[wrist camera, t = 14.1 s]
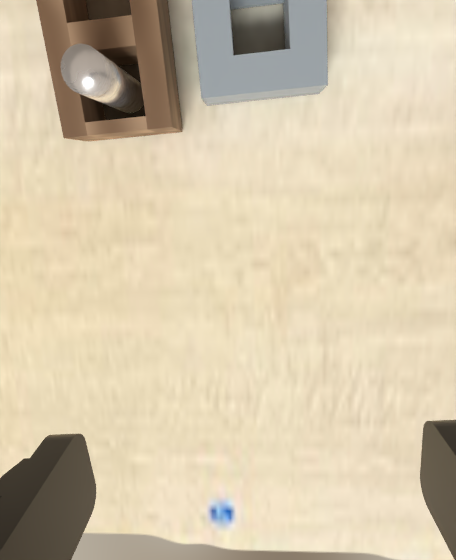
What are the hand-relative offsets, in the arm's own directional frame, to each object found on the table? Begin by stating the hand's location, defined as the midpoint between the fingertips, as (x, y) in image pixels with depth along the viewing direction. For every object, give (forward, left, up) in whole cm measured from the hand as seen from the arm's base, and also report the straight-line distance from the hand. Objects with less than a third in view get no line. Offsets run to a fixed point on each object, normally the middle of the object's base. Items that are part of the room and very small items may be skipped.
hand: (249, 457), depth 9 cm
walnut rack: (+10, -17, -30) cm, 36 cm away
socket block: (-2, -17, -30) cm, 35 cm away
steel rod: (+10, -14, -30) cm, 34 cm away
